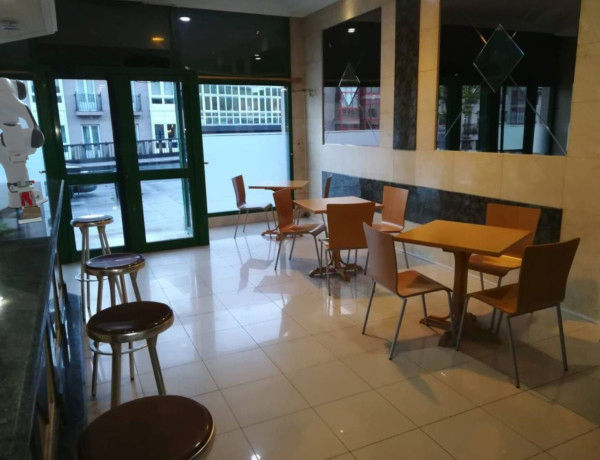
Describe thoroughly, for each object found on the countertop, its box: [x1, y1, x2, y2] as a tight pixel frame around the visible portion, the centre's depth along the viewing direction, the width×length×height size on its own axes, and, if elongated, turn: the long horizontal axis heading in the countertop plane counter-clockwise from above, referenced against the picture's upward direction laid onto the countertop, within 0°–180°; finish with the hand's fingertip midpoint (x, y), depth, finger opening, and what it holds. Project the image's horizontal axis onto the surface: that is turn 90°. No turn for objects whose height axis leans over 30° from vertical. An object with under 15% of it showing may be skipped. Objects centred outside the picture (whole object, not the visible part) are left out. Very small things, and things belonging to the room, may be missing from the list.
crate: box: [21, 204, 43, 219], centre depth 244 cm, size 8×8×5 cm
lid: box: [14, 180, 35, 192], centre depth 230 cm, size 8×8×5 cm
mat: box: [17, 216, 43, 225], centre depth 234 cm, size 10×10×1 cm
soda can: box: [19, 189, 36, 208], centre depth 256 cm, size 7×7×12 cm
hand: (23, 185), depth 229 cm, fingers closed on lid, 2 cm apart
